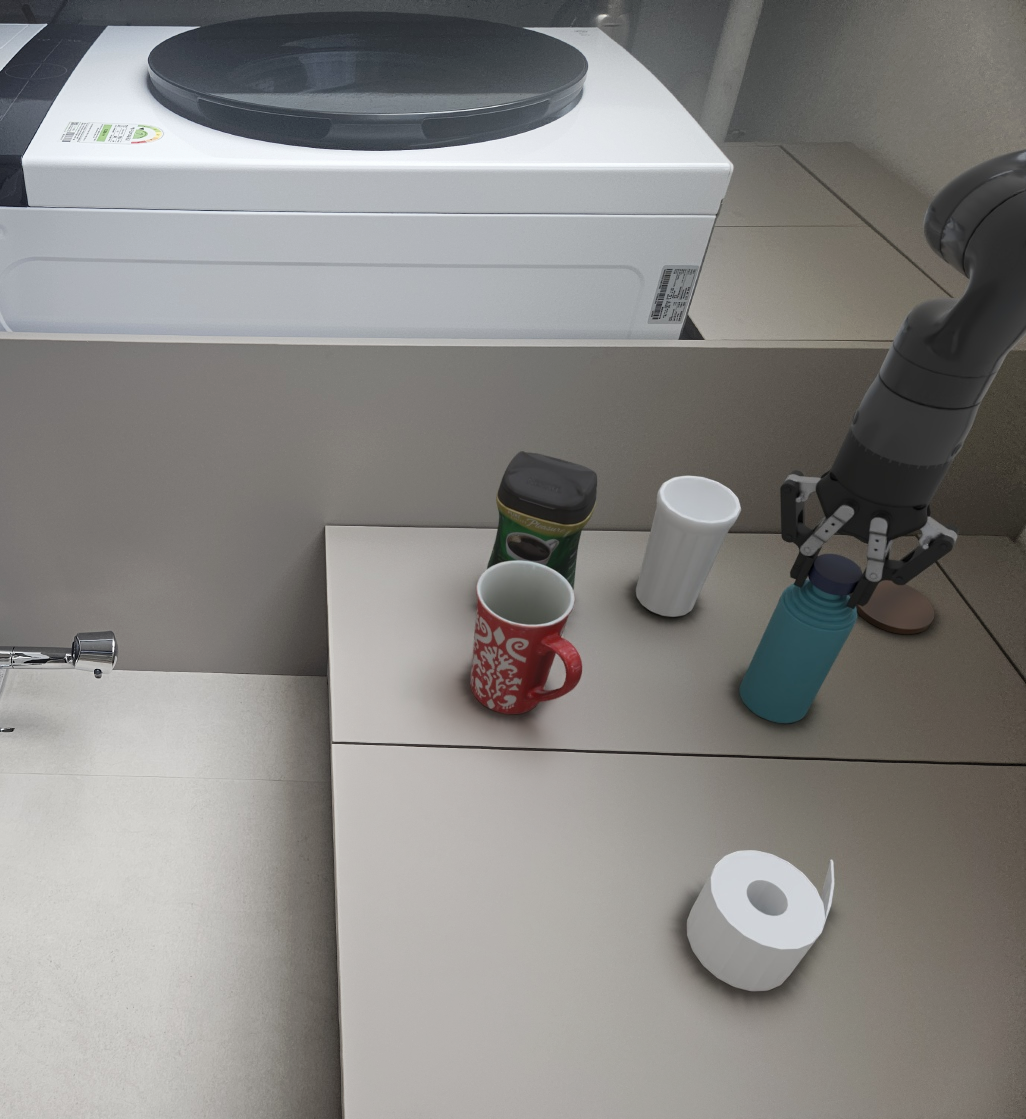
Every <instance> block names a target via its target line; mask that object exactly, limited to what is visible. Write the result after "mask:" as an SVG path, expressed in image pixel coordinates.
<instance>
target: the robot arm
mask: <svg viewBox="0 0 1026 1119" xmlns="http://www.w3.org/2000/svg"><path fill="white" fill-rule="evenodd" d="M922 222H923V223H922V231H923V232H922V233H923V236H924V239H925V241H926V242H925V243H926V244H927V245H928V246H929V248H930V249H931V250H932V252H933V253H934V254H935V255H936V256H938V257H939V258H940V260H942V261H943V262H945V263H947V264H948V265H949V266H950V267H952V268H953V269H954V270H956V271H957V272H958V273H959V274H960V275H962V276H964V277H965V278H966V279H968V283H967V286H966V288H965V291H964V293H963V294H962V295H961V297H960V298H956V297H937V298H930V299H927V300H924V301H922V302H920V303H918V304H916V305H915V306H914V307H913V308H912V309H911V310H910V311H909V312H908V313H907V314H906V315H905V316H904V319H903V320H902V322H901V324H900V326H899V328H898V330H897V332H896V334H895V336H894V338H893V340H892V343H891V345H890V347H889V349H888V351H887V354H886V356H885V358H884V360H883V362H882V364H881V367H880V369H879V371H878V373H877V374H876V377H875V378H874V380H873V381H872V383H871V384H870V386H869V387H868V389H867V390H866V392H865V393H864V396H863V397H862V400H861V402H860V404H859V406H858V408H857V409H856V410H855V412H854V413H853V416H852V421H851V424H850V426H849V428H848V430H847V433H846V435H845V437H844V440H843V442H842V443H841V445H840V448H839V449H838V453H837V455H836V457H835V459H834V461H833V463H832V466H831V467H830V469H829V470H828V471H826V472H824V473H823V474H822V475H821V476H820V477H815V476H805V475H804V473H803V472H802V471H800V470H798V469H797V470H795V469H794V470H792V471H790V472H789V474H788V475H787V476H786V478H785V479H784V481H783V482H782V484H781V486H780V488H779V491H780V492H779V494H780V498H779V499H780V528H781V530H780V532H781V535H780V536H781V539H782V541H784V542H785V543H791V544H792V543H793V544H794V545H796V547H797V548H798V553H797V556H796V558H795V560H794V562H793V565H792V567H791V569H790V571H789V578H791V579H793V580H794V582H793V583H794V584H793V583H792V584H793V585H795V586H798V587H800V588H802V586H803V584H804V582H805V581H806V580H808V573H809V571H810V569H811V567H812V565H813V563H814V561H815V559H816V558H817V556H819V555H820V553H821V550H822V548H823V546H824V544H825V543H827V542H828V541H829V540H830V539H831V538H832V537H833V536H834V535H835V534H836V533H837V534H840V535H843V536H848V537H853V538H854V539H857V540H858V541H860V542H861V543H863V544H866V545H867V550H866V559H867V560H866V567H865V568H864V570H863V571H862V576H861V578H860V580H859V582H858V584H857V586H856V588H855V589H854V591H853V593H851V594H852V595H851V594H850V599H849V601H848V603H847V605H846V606H847V607H849V608H852V609H854V608H855V606H856V605H857V604H858V605H860V606H864V605H866V604H867V603H868V601H869V600H870V598H871V596H872V594H873V592H874V591H875V589H876V587H877V585H878V583H879V582H881V581H884V580H889V581H892V582H893V583H895V584H896V585H904V584H906V585H907V583H909V582H910V581H911V580H913V579H915V578H916V577H917V576H918V575H920V574H921V573H923V572H924V571H926V570H927V569H928V568H929V567H931V566H932V565H934V564H935V563H936V562H938V561H939V560H941V559H942V558H943V557H944V556H946V555H947V554H949V553H950V552H951V551H952V550H953V549H954V546H955V544H956V542H957V539H958V537H959V535H960V529H959V528H958V527H957V525H955V524H946V525H943V524H941V523H940V522H938V521H937V520H936V519H934V518H933V517H932V516H931V511H932V510H931V501H932V499H933V498H934V496H935V494H936V492H937V491H938V489H939V487H940V485H941V483H942V481H943V480H944V478H945V476H946V474H947V473H948V470H949V469H950V467H951V465H952V463H953V462H954V460H955V458H956V457H957V455H958V454H959V453H960V452H961V450H962V448H963V445H964V443H965V440H966V438H967V436H968V434H969V433H970V431H971V429H972V427H973V424H974V422H975V419H976V416H977V413H978V410H979V408H980V405H981V404H982V401H983V399H984V397H985V395H986V394H987V392H988V391H989V388H990V387H991V385H992V383H993V381H994V379H995V377H996V376H997V374H998V371H999V370H1000V368H1001V366H1002V365H1003V362H1005V359H1006V357H1007V355H1008V354H1009V353H1010V352H1011V350H1013V348H1014V347H1015V346H1017V344H1018V343H1019V342H1020V341H1021V340H1022V339H1023V338H1024V337H1025V336H1026V148H1024V149H1019V150H1015V151H1011V152H1006V153H1003V154H999V155H997V156H994V157H991V158H989V159H986V160H983V161H981V162H979V163H977V164H974V165H973V166H971V167H969V168H967V169H966V170H964V171H962V172H960V173H959V174H957V175H956V176H955V177H954V178H952V179H951V180H950V181H948V182H947V183H946V184H945V185H944V186H943V187H942V188H941V189H940V190H939V191H938V192H937V193H936V194H935V196H934V197H933V198H932V200H931V201H930V203H929V204H928V206H927V209H926V211H925V214H924V217H923V221H922ZM813 493H816V497H817V499H818V501H819V504H820V507H821V509H822V512H823V514H824V515H823V517H822V518H821V519H820V520H819V521H818V523H816V525H815V526H814V527H813V528H812V529H811V528H810V527H808V526H807V525H806V521H805V520H806V519H805V518H806V515H805V514H806V513H805V507H806V506H805V502H807V501H808V500H809V498H810V497H811V495H812V494H813ZM919 530H920V532H921V535H920V537H919V539H918V544H919V545H917V546H916V547H915V548H913V549H912V550H911V551H910V552H907V554H905V555H904V556H903V557H902V558H901V559H899V560H897V559H891V558H890V557H891V552H892V546H893V543H894V540H896V539H899V538H901V537H904V536H907V535H909V534H912V533H914V532H917V531H919Z"/></svg>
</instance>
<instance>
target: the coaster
mask: <svg viewBox="0 0 1026 1119" xmlns="http://www.w3.org/2000/svg"><path fill="white" fill-rule="evenodd" d="M851 595H852V593H851V594H850V596H851ZM856 610H857V615H859V616H860V617H861V618H862V619H864V620H865V621H866V622H868V623H869V624H871V625H873V626H875V627H876V628H879V629H881V630H883V631H885V632H890V633H894V634H899V635H914V634H919V633H922V632H924V631H926V630H927V629H929V627H930V626H931V624H932V622H933V621H934V618H935V609H934V607H933V605H932V603H931V601H929V600H928V598H927V597H926V596H925V595H924V594H922V592H920V591H918V589H915V588H914V587H912V586H911V585H908V584H907V583H906V584H904V585H896V584H895V583H893V582H892V581H889V580H884V581H881V582H879V583H878V585H877V587H876V589H875V591H874V592H873V594H872V596H871V598H870V600H869V601H868V603H867V604H866V605H864V606H860V605H858V604H857V605H856Z"/></svg>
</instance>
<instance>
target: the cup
mask: <svg viewBox="0 0 1026 1119" xmlns="http://www.w3.org/2000/svg"><path fill="white" fill-rule="evenodd" d="M656 494H657V495H656V508H655V510H654V511H655V512H654V516H653V520H652V524H651V527H650V531H649V536H648V540H647V543H646V547H645V552H644V556H643V559H642V562H641V566H640V567H641V568H640V572H639V575H638V579H637V584H636V588H635V595H636V598H637V600H638V601H639V603H640V604H641V606H643V607H645V608H646V609H647V610H649V611H650V612H652V613H654V614H657V615H659V616H663V617H672V618H675V617H682V616H685V615H687V614H688V613H690V612H692V610H693V608H694V606H695V604H696V602H697V600H698V598H699V596H700V593H701V591H702V589H703V587H704V585H705V582H706V581H707V579H708V576H709V574H710V573H711V570H712V568H713V565H714V563H715V561H716V559H717V557H718V554H719V552H720V551H721V548H722V546H723V544H724V543H725V540H726V538H727V535H728V534H729V531H730V529H731V528H732V527H733V526H734V525H735V523H736V521H737V520H738V518H739V516H740V514H741V511H742V508H741V503H740V500H739V497H738V496H737V495H736V494H735V493H734V492H733V491H732V490H731V489H730V488H729V487H727V486H726V485H724V484H722V483H721V482H718V481H716V480H714V479H710V478H707V477H704V476H698V475H697V476H696V475H681V476H674V477H672V478H670V479H668V480H666V481H665V482H663V483H662V484H661V485H660V487H659V489H658V491H657V493H656Z"/></svg>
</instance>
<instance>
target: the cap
mask: <svg viewBox="0 0 1026 1119" xmlns="http://www.w3.org/2000/svg"><path fill="white" fill-rule="evenodd" d="M862 574H863V571H862V568H861V567H860V566H859V565H858V564H857V563H856V562H855V561H854V560H852V559H850V558H849V557H846V556H843V555H841V554H838V553H837V554H836V553H822V554H818V556H817V558H816V559H815V561H814V563H813V565H812V567H811V569H810V571H809V573H808V577H807V579H808V580H810V582H811V583H812V584H813V585H814V586H815V587H816V588H818V589H819V590H821V591H823V592H825V593H828V594H831V595H837V596H844V595H849V596H850V595H851V594H852V593H853V591H854V589H855V588H856V586H857V584H858V582H859V580H860V578H861V576H862Z"/></svg>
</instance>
